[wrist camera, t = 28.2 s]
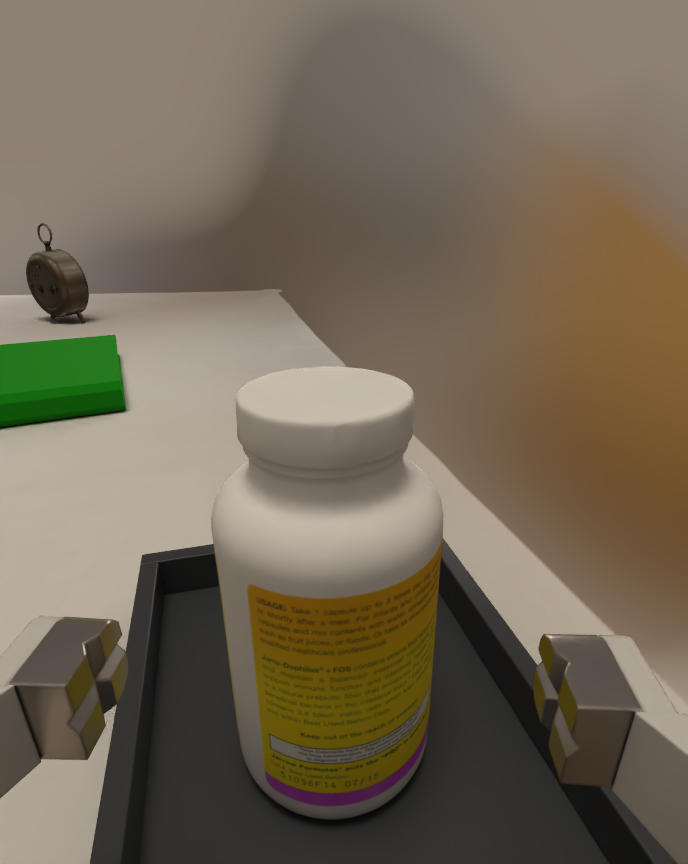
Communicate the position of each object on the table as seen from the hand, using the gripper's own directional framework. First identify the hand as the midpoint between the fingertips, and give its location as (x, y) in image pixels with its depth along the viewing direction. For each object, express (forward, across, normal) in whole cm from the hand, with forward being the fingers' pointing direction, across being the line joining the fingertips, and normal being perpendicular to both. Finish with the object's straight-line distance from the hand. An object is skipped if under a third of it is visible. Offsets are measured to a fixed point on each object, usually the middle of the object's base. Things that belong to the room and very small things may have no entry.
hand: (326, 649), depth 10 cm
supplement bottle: (+5, 0, +10) cm, 11 cm away
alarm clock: (+81, +54, +10) cm, 98 cm away
